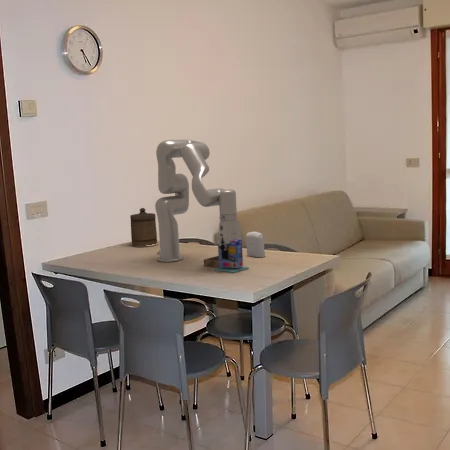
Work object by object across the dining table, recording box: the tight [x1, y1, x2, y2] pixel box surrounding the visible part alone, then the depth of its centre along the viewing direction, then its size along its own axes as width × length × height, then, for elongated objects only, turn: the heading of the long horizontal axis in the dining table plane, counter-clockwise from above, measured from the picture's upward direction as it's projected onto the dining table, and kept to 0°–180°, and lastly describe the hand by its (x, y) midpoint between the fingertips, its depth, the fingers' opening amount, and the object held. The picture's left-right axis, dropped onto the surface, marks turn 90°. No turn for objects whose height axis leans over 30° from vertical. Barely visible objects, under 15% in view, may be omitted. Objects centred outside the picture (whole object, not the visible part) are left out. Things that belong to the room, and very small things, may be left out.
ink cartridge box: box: [217, 239, 244, 268], centre depth 247 cm, size 10×6×14 cm, turn 63°
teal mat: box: [213, 266, 249, 274], centre depth 248 cm, size 12×10×1 cm
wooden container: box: [130, 207, 158, 247], centre depth 326 cm, size 15×15×22 cm
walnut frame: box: [203, 255, 219, 268], centre depth 261 cm, size 11×15×3 cm
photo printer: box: [245, 231, 266, 258], centre depth 275 cm, size 10×4×12 cm, turn 39°
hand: (230, 257), depth 248 cm, fingers closed on ink cartridge box, 6 cm apart
